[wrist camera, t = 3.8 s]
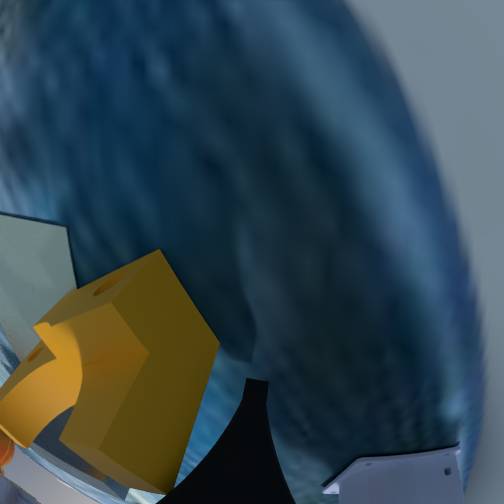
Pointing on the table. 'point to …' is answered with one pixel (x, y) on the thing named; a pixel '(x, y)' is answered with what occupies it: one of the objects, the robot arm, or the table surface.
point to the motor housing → (31, 311)
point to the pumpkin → (5, 450)
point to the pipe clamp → (117, 374)
